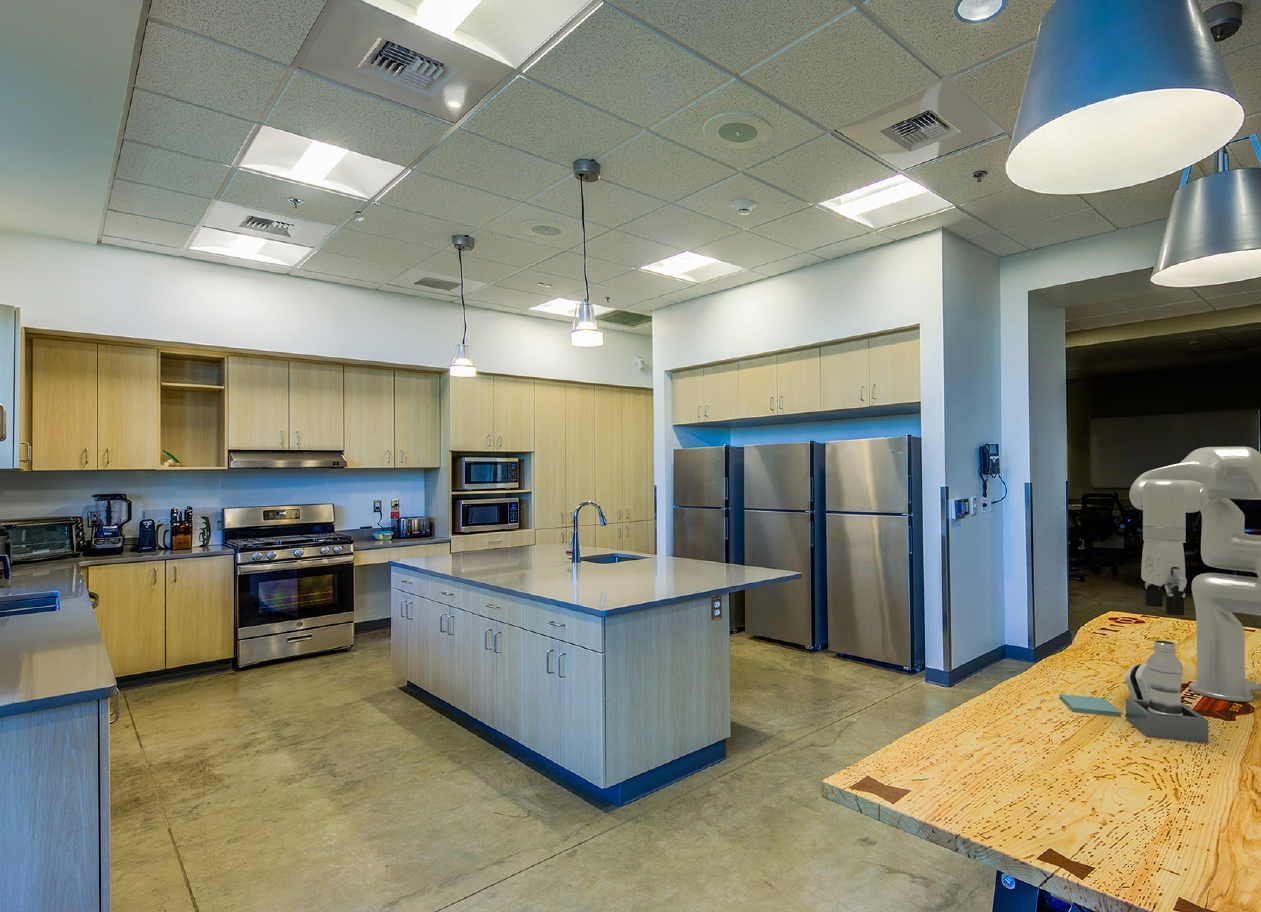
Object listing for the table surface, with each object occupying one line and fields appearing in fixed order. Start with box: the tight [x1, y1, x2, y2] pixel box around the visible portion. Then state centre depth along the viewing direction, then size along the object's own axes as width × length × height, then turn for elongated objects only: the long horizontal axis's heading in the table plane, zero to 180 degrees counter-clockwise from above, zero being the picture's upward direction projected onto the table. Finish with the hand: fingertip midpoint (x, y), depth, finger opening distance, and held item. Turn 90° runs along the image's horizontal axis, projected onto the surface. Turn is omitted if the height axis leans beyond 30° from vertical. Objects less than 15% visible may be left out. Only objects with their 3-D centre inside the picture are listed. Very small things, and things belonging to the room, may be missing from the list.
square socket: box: [1125, 697, 1209, 744], centre depth 149 cm, size 11×10×5 cm
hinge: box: [1124, 663, 1150, 700], centre depth 169 cm, size 17×5×10 cm, turn 128°
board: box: [1058, 693, 1122, 718], centre depth 163 cm, size 10×10×1 cm
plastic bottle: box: [1146, 639, 1184, 716], centre depth 149 cm, size 6×7×20 cm
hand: (1164, 610), depth 149 cm, fingers open, 9 cm apart
